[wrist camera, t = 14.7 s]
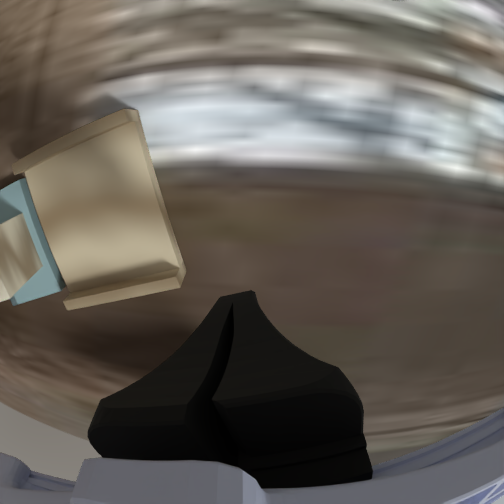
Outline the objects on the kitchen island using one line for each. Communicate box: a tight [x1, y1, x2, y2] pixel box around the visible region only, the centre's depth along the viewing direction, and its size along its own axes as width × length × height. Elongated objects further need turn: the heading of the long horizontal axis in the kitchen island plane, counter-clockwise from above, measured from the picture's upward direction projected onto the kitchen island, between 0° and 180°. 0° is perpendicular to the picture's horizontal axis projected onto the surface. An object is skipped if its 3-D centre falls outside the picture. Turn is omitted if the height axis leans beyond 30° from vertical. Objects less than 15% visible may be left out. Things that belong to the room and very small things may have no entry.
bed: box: [12, 109, 186, 310], centre depth 19 cm, size 12×10×2 cm
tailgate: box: [0, 178, 66, 306], centre depth 20 cm, size 9×1×6 cm
